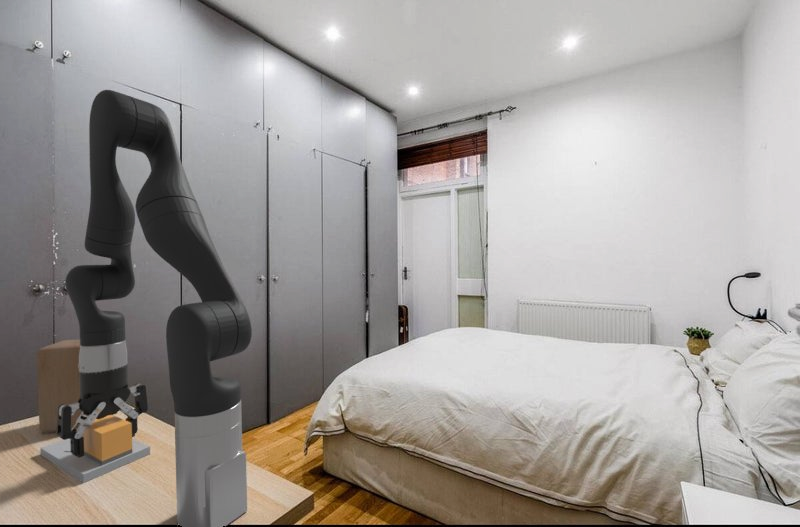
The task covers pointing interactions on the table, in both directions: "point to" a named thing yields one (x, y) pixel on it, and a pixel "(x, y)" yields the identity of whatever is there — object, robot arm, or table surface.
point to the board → (88, 459)
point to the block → (57, 382)
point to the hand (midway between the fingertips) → (106, 445)
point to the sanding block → (108, 439)
